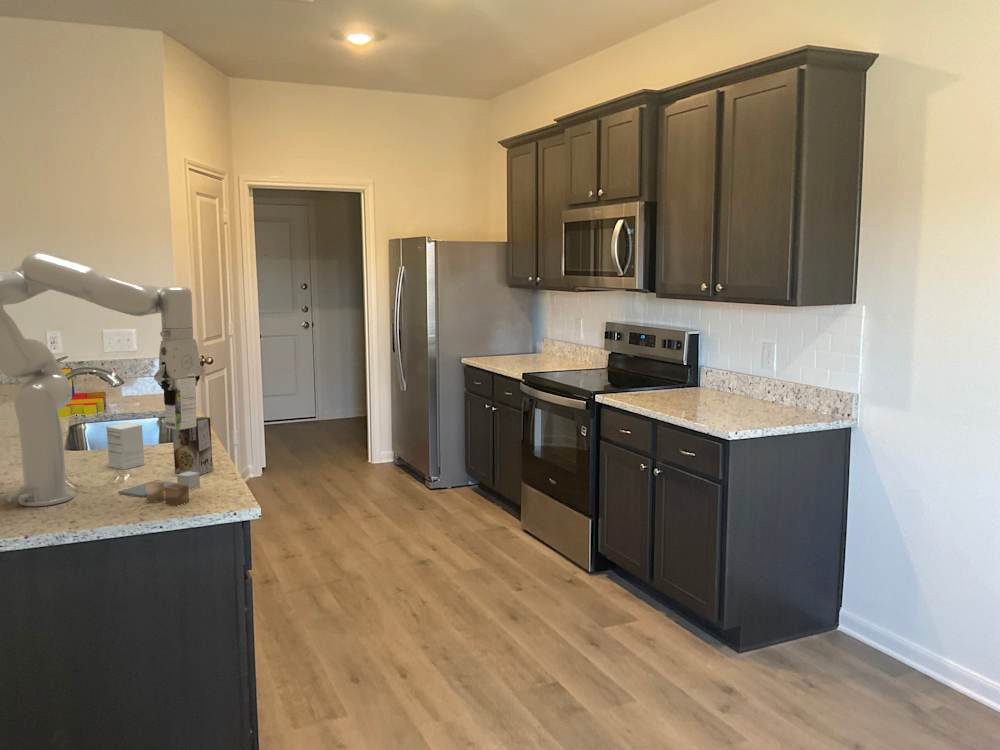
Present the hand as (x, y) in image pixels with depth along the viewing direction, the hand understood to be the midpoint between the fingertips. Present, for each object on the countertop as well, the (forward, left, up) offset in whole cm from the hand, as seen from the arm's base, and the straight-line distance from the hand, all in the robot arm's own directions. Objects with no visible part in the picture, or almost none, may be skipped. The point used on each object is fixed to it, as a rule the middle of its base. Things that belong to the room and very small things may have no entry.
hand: (180, 402), depth 213 cm
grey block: (+6, +5, -25) cm, 26 cm away
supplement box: (+17, +40, -25) cm, 50 cm away
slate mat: (0, +13, -25) cm, 28 cm away
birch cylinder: (-6, +4, -25) cm, 26 cm away
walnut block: (-6, -4, -25) cm, 26 cm away
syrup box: (0, 0, -7) cm, 7 cm away
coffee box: (+20, +16, -25) cm, 36 cm away
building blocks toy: (+75, +133, -26) cm, 155 cm away
